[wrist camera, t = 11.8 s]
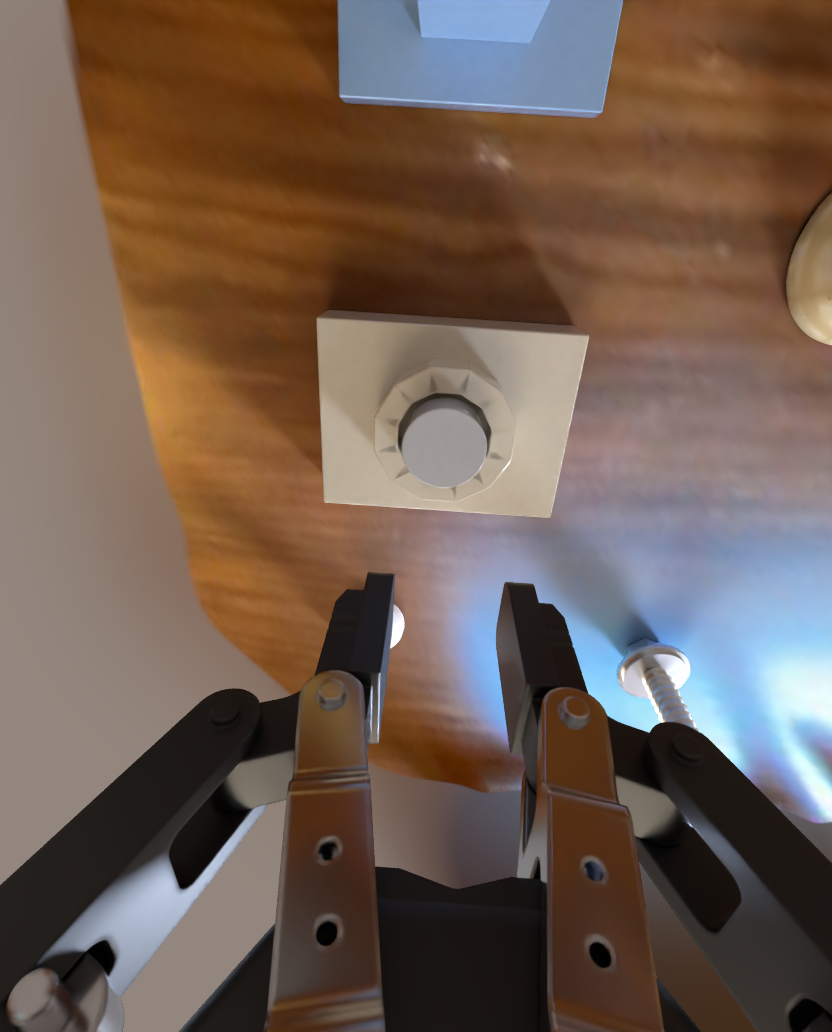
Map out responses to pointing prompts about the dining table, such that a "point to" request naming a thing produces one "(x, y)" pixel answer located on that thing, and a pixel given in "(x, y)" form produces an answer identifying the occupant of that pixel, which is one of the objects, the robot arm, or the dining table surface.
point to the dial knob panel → (454, 374)
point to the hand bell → (813, 276)
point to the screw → (657, 678)
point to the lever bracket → (478, 54)
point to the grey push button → (444, 442)
